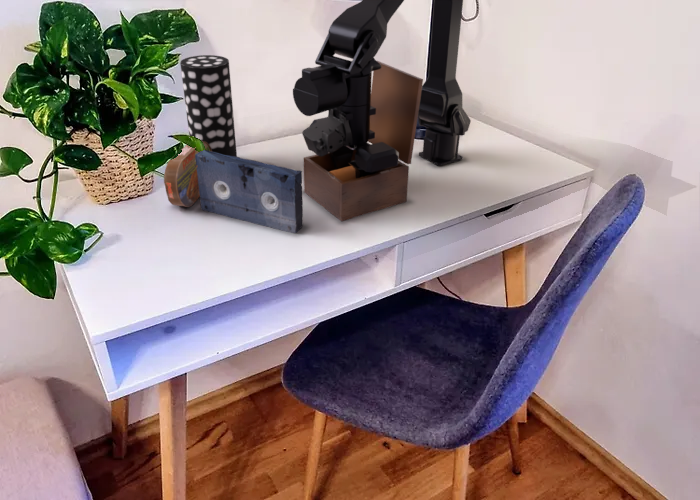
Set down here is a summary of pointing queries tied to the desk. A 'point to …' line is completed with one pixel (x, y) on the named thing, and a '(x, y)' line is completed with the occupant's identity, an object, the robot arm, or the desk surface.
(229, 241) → the desk surface
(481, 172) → the desk surface
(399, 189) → the bread box
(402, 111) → the bin lid
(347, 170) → the bread
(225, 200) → the vhs cassette tape
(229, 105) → the white-spotted black cylinder
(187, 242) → the desk surface
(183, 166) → the tin
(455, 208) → the desk surface
